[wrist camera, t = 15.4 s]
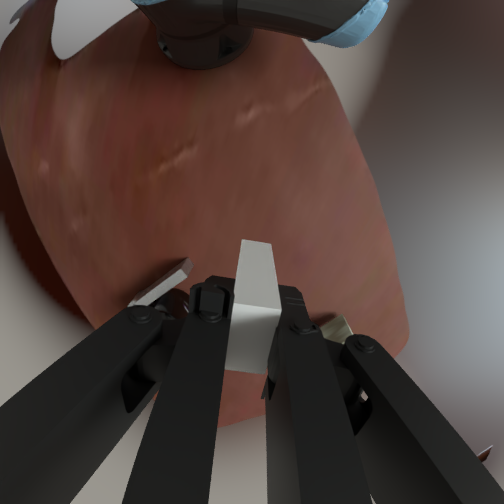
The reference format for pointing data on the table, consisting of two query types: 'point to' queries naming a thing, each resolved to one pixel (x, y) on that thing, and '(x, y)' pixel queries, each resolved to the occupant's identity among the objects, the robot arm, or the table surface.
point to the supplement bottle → (173, 304)
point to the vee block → (163, 284)
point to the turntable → (336, 330)
